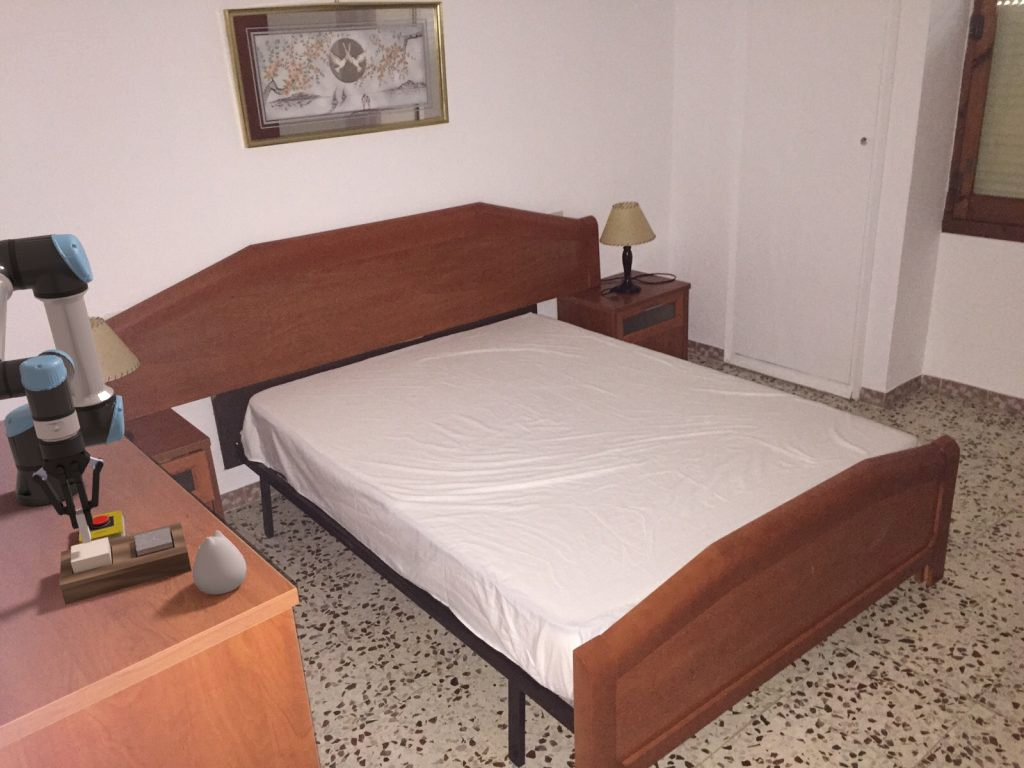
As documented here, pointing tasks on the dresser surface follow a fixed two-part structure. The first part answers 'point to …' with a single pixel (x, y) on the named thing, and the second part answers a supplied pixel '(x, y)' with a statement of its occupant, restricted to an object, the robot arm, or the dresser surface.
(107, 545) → the cream key
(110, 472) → the dresser surface
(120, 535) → the emergency button
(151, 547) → the steel key
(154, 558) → the brown wooden flat block
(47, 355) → the robot arm
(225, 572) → the toy character
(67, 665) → the dresser surface
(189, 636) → the dresser surface
